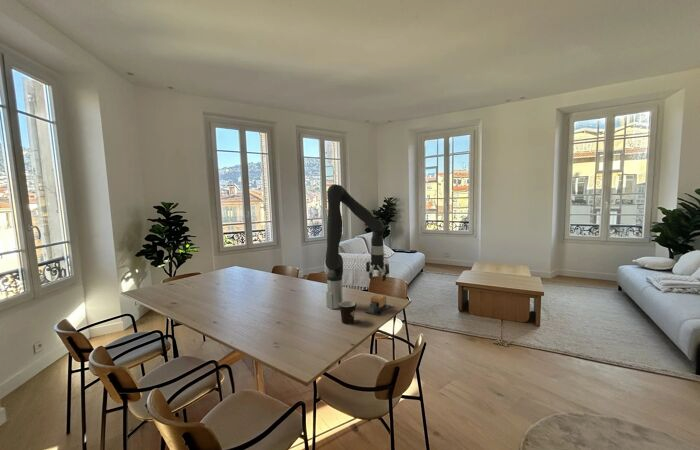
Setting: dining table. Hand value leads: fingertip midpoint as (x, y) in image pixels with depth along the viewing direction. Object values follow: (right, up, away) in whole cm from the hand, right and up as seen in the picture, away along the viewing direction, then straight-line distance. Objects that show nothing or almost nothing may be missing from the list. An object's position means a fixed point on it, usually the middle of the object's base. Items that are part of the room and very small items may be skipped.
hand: (377, 279), depth 181 cm
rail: (+1, -18, +1) cm, 18 cm away
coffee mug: (-16, -20, -15) cm, 30 cm away
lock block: (0, -15, +1) cm, 15 cm away
